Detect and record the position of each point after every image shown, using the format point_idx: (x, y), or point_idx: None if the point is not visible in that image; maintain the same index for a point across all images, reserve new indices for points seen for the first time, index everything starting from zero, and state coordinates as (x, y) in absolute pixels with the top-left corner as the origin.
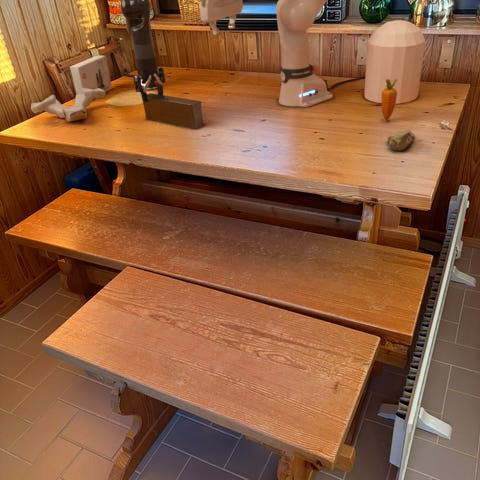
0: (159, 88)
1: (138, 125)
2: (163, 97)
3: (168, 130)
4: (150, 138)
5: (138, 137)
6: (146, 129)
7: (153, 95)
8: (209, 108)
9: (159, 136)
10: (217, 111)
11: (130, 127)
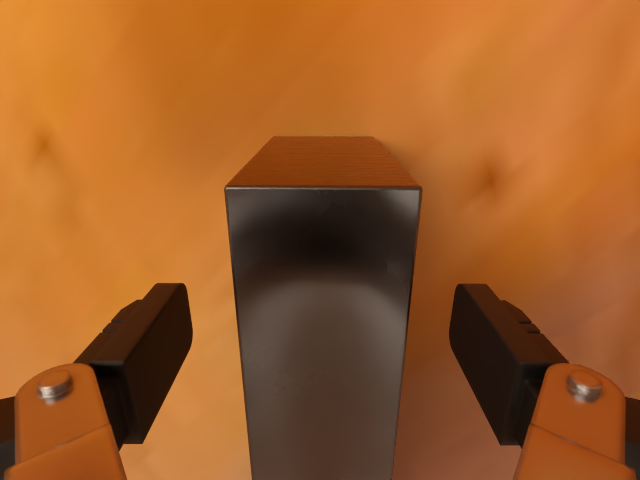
0: (489, 387)
1: (142, 177)
2: (323, 473)
3: (201, 415)
4: None
5: (15, 337)
6: (130, 291)
7: (336, 326)
8: None
9: None
10: None
11: (75, 146)
